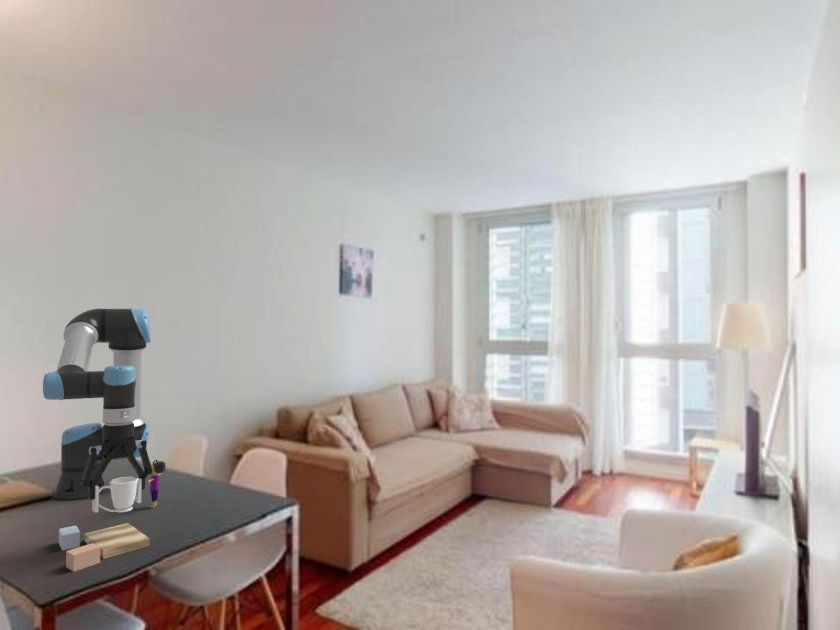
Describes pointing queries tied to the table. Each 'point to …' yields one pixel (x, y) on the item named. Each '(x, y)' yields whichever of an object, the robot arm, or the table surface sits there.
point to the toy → (156, 480)
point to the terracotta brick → (83, 557)
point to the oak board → (117, 540)
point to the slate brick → (69, 537)
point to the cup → (122, 493)
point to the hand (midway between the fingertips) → (117, 506)
